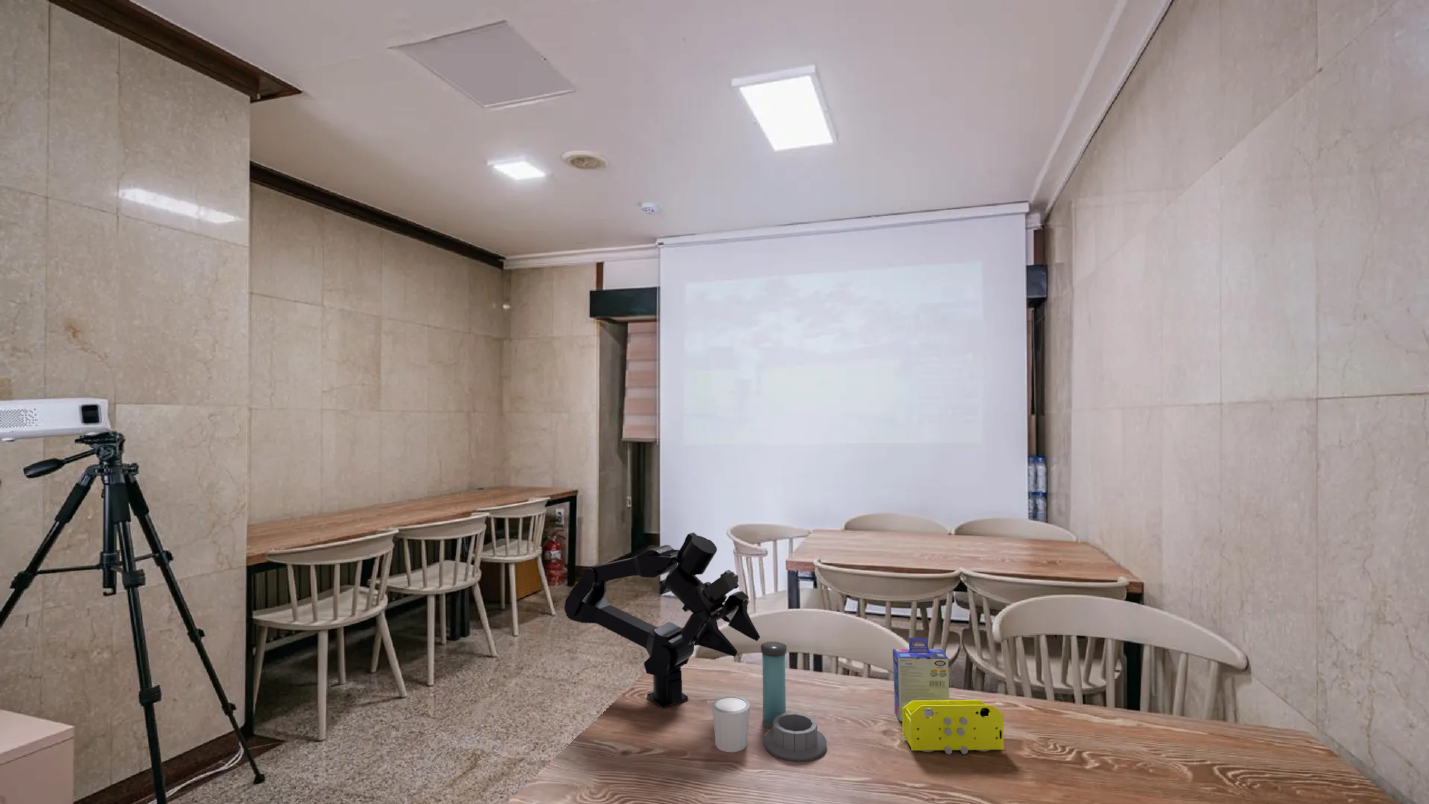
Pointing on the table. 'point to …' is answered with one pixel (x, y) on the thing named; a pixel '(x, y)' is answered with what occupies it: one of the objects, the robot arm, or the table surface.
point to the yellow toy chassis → (952, 726)
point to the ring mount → (795, 738)
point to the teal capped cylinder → (773, 680)
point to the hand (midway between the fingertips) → (747, 646)
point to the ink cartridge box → (919, 675)
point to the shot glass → (731, 723)
